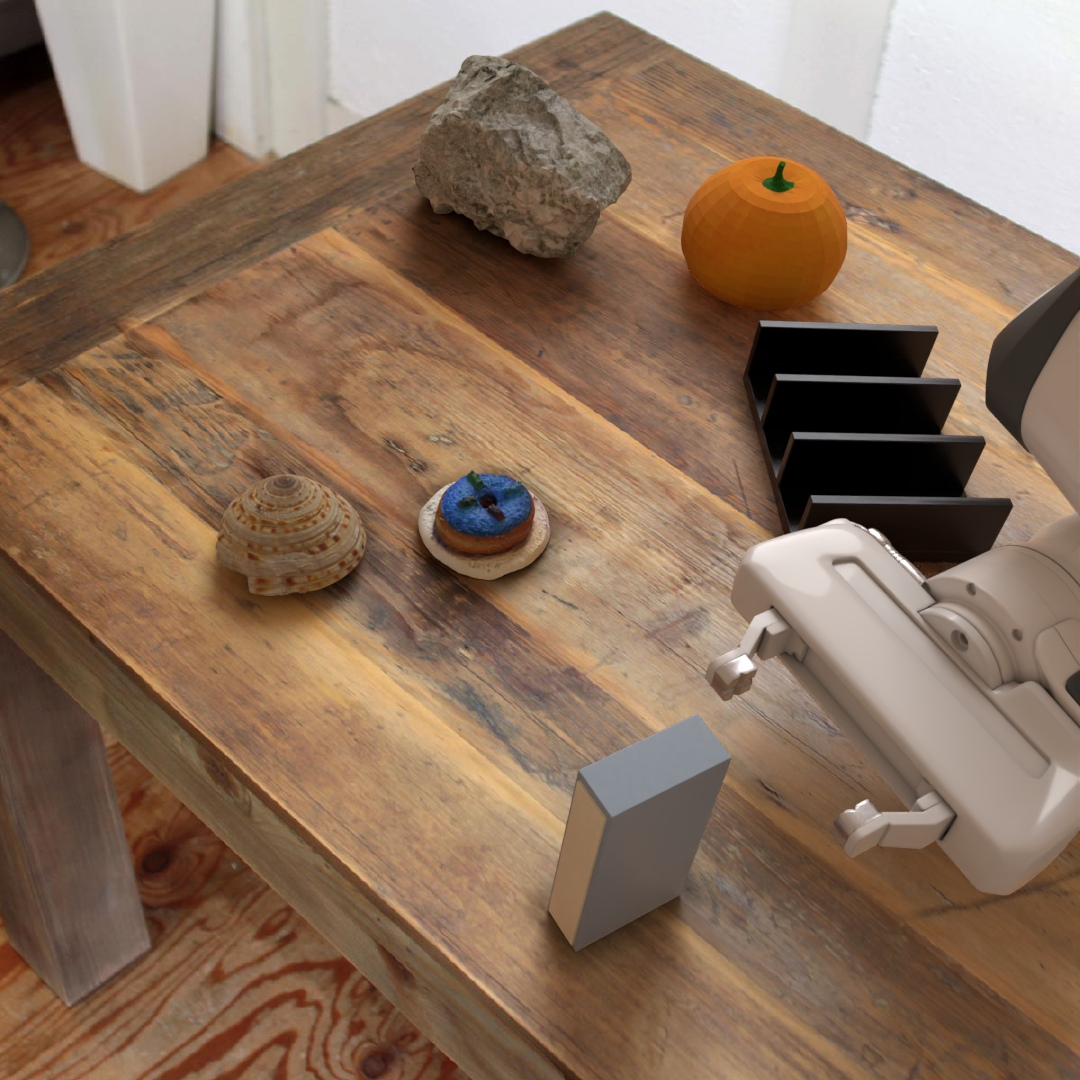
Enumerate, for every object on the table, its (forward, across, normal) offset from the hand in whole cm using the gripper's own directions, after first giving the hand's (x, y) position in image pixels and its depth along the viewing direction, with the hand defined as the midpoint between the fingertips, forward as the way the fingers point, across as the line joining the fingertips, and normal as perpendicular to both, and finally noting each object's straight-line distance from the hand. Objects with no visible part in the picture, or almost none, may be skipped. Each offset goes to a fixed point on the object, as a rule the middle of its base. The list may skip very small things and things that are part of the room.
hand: (776, 757), depth 61 cm
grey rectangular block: (+8, 0, +7) cm, 10 cm away
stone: (-16, -50, +7) cm, 53 cm away
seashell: (+12, -27, +7) cm, 30 cm away
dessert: (+1, -24, +7) cm, 25 cm away
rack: (-23, -18, +7) cm, 30 cm away
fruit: (-28, -36, +7) cm, 47 cm away
